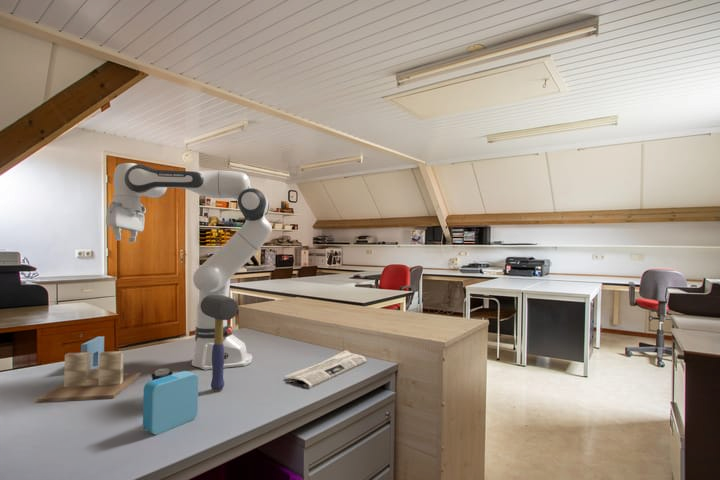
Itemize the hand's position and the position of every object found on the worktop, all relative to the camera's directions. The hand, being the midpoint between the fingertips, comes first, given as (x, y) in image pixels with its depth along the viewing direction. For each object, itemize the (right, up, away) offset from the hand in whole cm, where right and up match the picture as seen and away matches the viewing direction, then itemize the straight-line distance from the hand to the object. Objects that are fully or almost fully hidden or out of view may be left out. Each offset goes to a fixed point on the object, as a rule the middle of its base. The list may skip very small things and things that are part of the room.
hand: (125, 241), depth 141 cm
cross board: (+4, -47, -23) cm, 52 cm away
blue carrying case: (+41, -47, -47) cm, 78 cm away
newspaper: (+77, -49, -4) cm, 92 cm away
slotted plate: (-11, -47, -3) cm, 48 cm away
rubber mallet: (+44, -47, -24) cm, 69 cm away
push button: (+33, -47, -36) cm, 68 cm away
